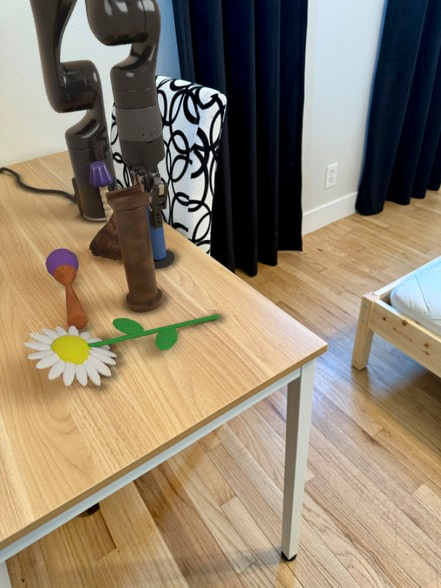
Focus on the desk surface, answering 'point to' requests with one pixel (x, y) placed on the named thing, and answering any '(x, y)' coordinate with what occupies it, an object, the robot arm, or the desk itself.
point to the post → (135, 247)
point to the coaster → (165, 260)
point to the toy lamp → (101, 183)
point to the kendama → (67, 283)
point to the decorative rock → (107, 242)
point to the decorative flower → (93, 348)
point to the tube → (156, 240)
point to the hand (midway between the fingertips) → (152, 222)
